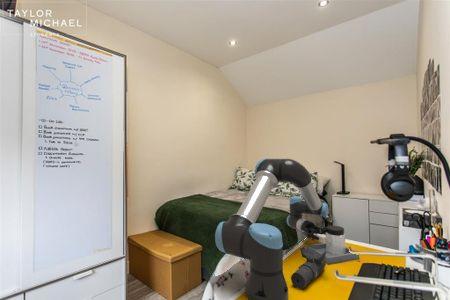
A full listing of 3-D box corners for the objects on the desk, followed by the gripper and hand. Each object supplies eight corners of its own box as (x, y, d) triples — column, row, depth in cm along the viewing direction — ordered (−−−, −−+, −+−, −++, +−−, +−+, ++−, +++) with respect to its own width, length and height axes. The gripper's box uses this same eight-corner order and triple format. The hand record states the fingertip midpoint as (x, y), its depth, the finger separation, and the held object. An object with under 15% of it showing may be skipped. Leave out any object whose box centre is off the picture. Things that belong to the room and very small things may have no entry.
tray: (328, 264, 106) (328, 258, 106) (305, 251, 121) (305, 245, 121) (359, 259, 111) (359, 252, 111) (334, 247, 126) (334, 241, 126)
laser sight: (285, 284, 90) (285, 258, 90) (309, 264, 107) (308, 242, 107) (311, 294, 83) (310, 265, 84) (331, 271, 100) (331, 247, 101)
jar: (322, 249, 121) (322, 226, 121) (336, 247, 123) (335, 224, 123) (335, 256, 112) (334, 231, 113) (349, 254, 115) (348, 229, 115)
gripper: (323, 231, 138) (354, 244, 118) (288, 235, 131) (314, 250, 110) (323, 218, 139) (353, 229, 118) (288, 222, 131) (314, 234, 110)
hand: (334, 239), depth 114 cm, fingers open, 11 cm apart
